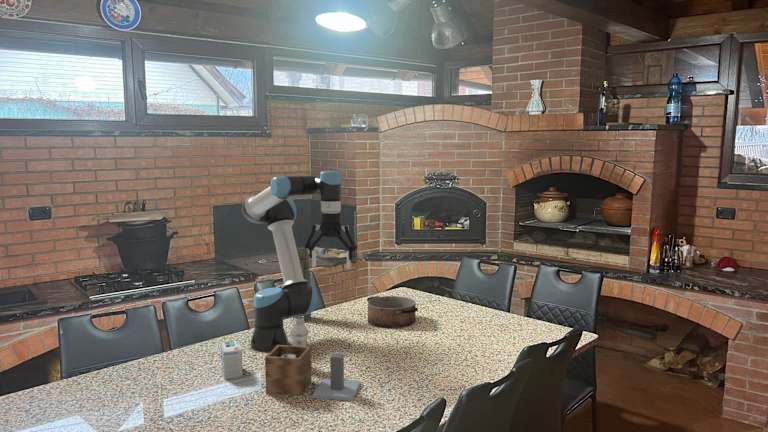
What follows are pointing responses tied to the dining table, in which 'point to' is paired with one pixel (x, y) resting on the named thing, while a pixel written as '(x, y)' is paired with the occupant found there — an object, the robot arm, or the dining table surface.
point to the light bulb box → (231, 360)
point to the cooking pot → (391, 311)
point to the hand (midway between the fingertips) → (331, 267)
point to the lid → (337, 382)
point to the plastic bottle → (299, 332)
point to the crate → (288, 370)
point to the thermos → (304, 270)
